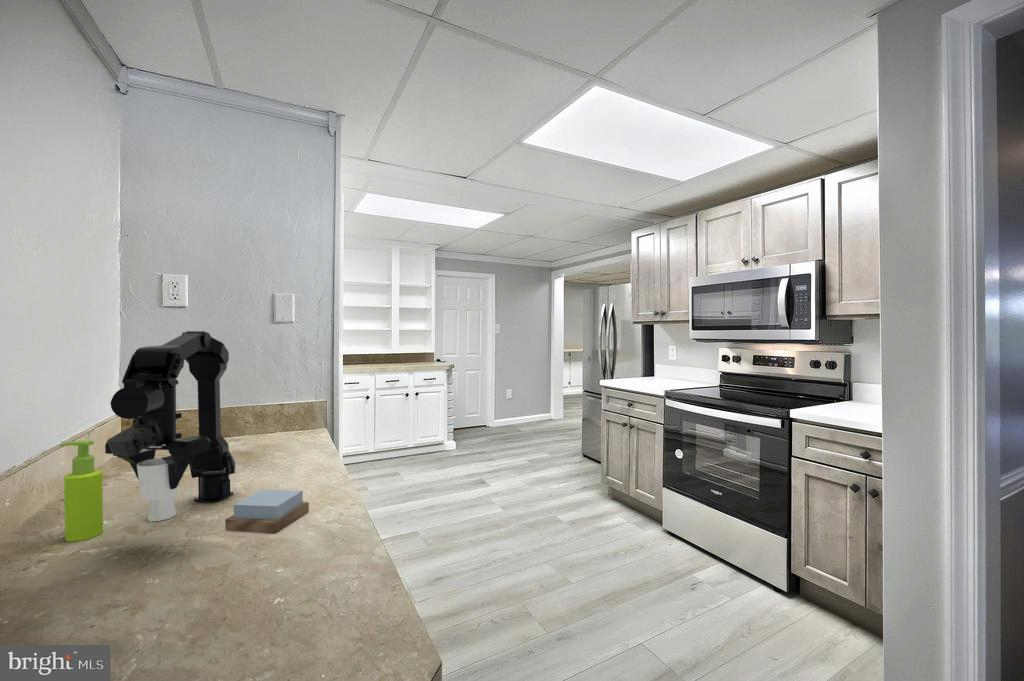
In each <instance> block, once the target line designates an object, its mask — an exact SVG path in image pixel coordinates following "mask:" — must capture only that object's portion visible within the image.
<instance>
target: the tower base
mask: <svg viewBox="0 0 1024 681" xmlns="http://www.w3.org/2000/svg"><path fill="white" fill-rule="evenodd" d="M309 506H310V503H309V501H303V503H302V504H301V505H299V506H298V507H296V508H295V509H293V510H292V511H290V512H289V513H287V514H286V515H284V516H283V517H281V518H280V519H278V520H263V519H236V518H234V514H233V515H230V516H228V517H227V518H225V520H224V521H225V531H230V532H231V531H232V532H234V531H235V532H247V533H263V534H275V533H276V534H278V533H280V532H281V531H282V530H284V529H285V528H287V527H288V526H289V525H291V524H293V523H294V522H296V521H297V520H299V519H301V518H302V517H303V516H305V515H306V514H308V513H309V512H310V507H309ZM283 528H284V529H283ZM280 530H281V531H280ZM277 532H278V533H277Z"/></svg>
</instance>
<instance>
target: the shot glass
mask: <svg viewBox="0 0 1024 681" xmlns="http://www.w3.org/2000/svg"><path fill="white" fill-rule="evenodd" d="M164 457H165V456H162V457H154V459H149V460H144V461H141V462H139V463H137V471H138V478H137V480H138V479H139V480H138V484H139V493H140V499H141V500H142V501H151V500H159V499H164V498H167V497H171V496H175V495H176V494H177V491H178V486H177V487H176V488H175V489H170V485H169V473H168V464H167V463H166V462H165V461H164V460H163V459H162V458H164Z"/></svg>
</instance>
